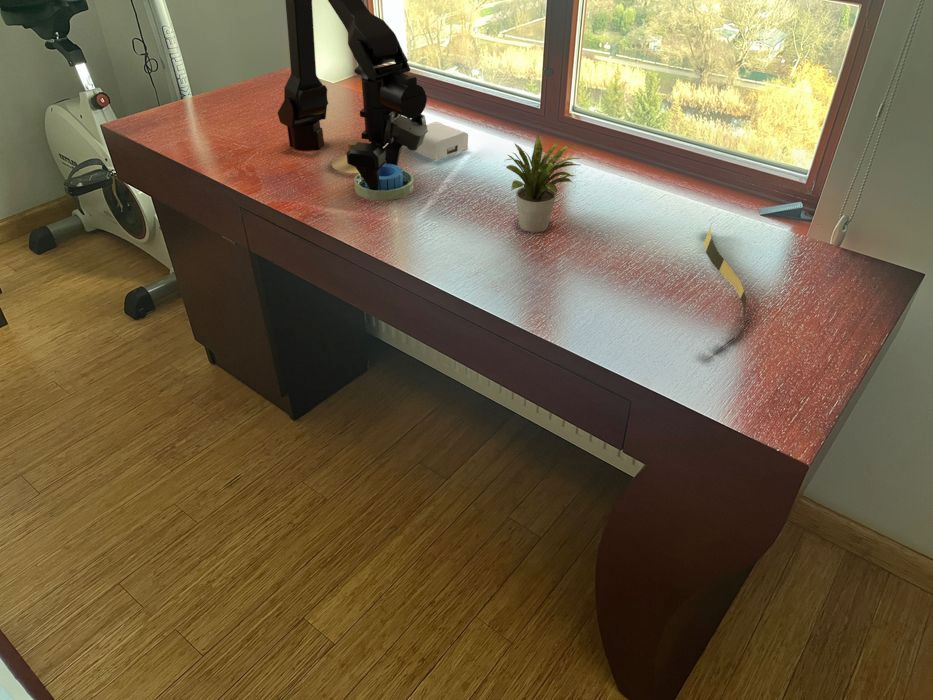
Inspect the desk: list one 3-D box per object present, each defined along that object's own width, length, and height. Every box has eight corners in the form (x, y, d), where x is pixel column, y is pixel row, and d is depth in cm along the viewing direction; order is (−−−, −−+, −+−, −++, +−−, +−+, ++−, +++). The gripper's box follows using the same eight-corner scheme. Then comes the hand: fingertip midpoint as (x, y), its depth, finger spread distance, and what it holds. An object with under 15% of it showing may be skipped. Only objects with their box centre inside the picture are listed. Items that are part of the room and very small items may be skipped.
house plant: (537, 256, 126) (544, 165, 116) (476, 229, 133) (478, 141, 123) (586, 227, 134) (597, 140, 124) (526, 203, 142) (532, 119, 132)
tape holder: (323, 172, 152) (321, 148, 149) (344, 154, 159) (342, 130, 156) (369, 179, 150) (367, 154, 146) (387, 160, 157) (386, 136, 154)
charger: (421, 133, 169) (467, 152, 161) (390, 144, 164) (436, 164, 156) (421, 112, 167) (468, 131, 158) (389, 123, 161) (436, 142, 153)
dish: (345, 199, 142) (344, 186, 141) (369, 175, 151) (368, 163, 149) (401, 207, 140) (400, 195, 138) (421, 183, 148) (421, 170, 147)
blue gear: (359, 193, 143) (357, 176, 141) (374, 178, 149) (373, 161, 147) (395, 199, 141) (394, 181, 139) (408, 183, 147) (408, 166, 145)
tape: (737, 240, 132) (743, 221, 129) (747, 369, 102) (755, 347, 100) (702, 235, 133) (708, 215, 130) (702, 361, 103) (709, 339, 101)
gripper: (401, 126, 126) (405, 210, 135) (438, 91, 140) (439, 169, 150) (341, 118, 129) (349, 201, 138) (383, 85, 143) (387, 162, 152)
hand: (384, 183), depth 144 cm, fingers open, 9 cm apart
